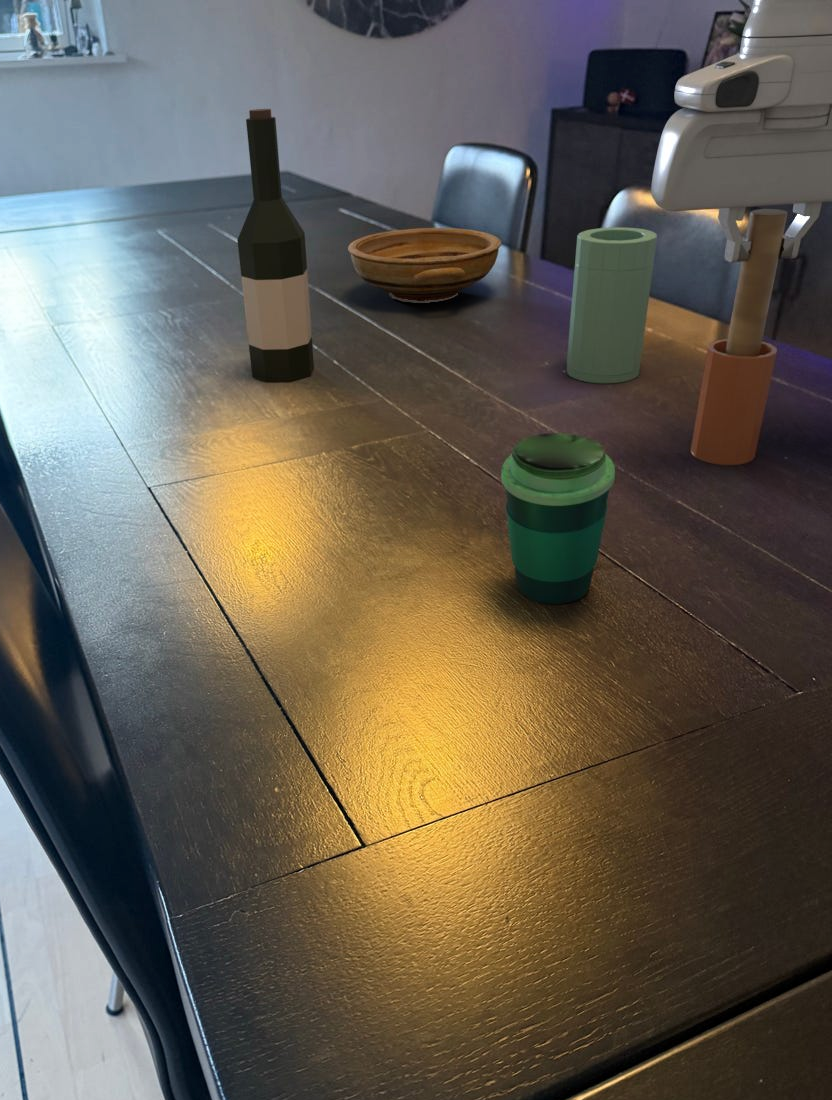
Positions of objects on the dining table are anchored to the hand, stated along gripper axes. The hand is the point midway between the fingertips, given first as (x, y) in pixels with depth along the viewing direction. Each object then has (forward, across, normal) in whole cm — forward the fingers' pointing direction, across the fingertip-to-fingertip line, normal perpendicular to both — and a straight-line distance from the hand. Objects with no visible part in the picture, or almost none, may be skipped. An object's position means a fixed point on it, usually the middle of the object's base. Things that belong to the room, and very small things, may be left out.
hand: (759, 259), depth 82 cm
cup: (+19, +23, +23) cm, 38 cm away
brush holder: (+19, 0, 0) cm, 19 cm away
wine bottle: (+19, +44, -36) cm, 60 cm away
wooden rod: (+18, 0, 0) cm, 18 cm away
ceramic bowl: (+19, +21, -71) cm, 76 cm away
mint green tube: (+19, +4, -28) cm, 34 cm away
